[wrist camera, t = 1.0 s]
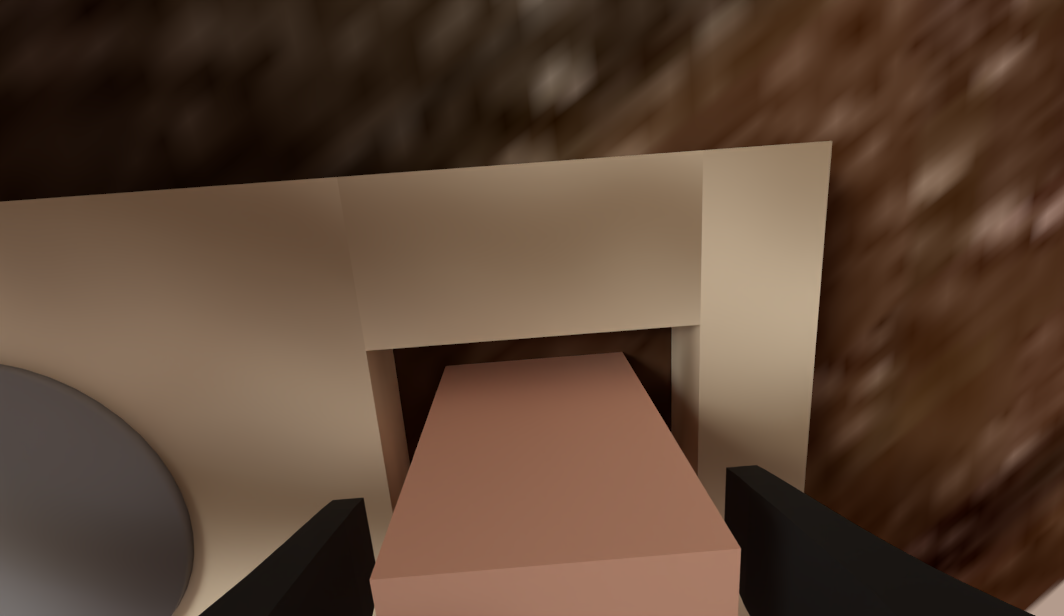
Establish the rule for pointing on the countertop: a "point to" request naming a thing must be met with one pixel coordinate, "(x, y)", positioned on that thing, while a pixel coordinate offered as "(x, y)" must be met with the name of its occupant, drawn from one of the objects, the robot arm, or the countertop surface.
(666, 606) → the terracotta block
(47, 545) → the pocket board
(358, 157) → the countertop surface
